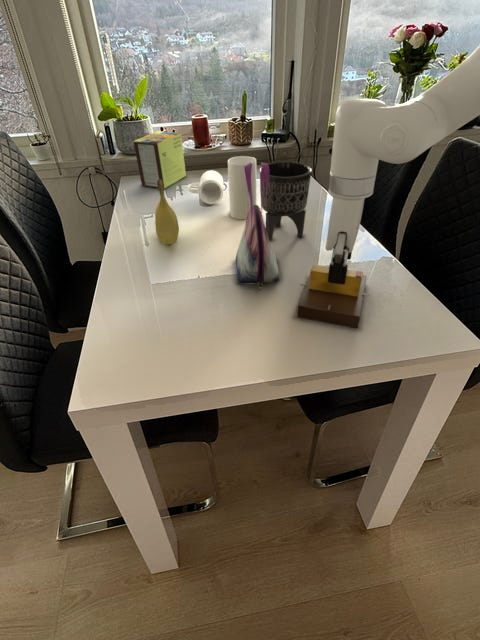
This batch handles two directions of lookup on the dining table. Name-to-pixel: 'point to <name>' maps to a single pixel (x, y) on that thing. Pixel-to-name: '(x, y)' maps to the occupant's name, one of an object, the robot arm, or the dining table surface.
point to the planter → (286, 194)
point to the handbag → (256, 241)
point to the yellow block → (321, 283)
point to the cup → (241, 186)
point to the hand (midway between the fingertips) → (339, 269)
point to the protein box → (160, 158)
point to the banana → (165, 219)
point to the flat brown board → (331, 306)
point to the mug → (209, 187)
